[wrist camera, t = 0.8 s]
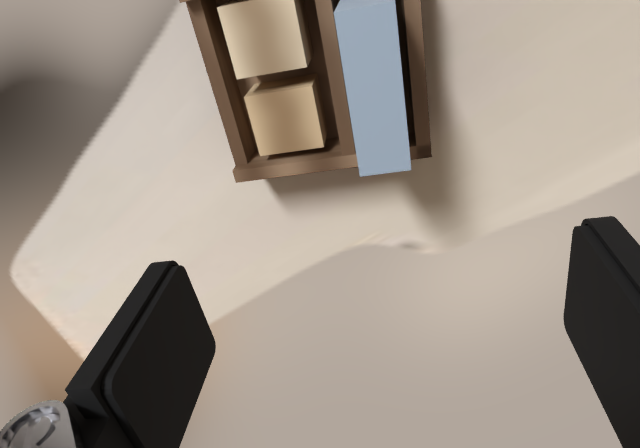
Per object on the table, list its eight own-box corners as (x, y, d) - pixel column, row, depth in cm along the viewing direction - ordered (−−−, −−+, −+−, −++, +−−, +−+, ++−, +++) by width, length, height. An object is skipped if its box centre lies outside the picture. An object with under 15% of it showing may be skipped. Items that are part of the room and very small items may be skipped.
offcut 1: (300, -14, 32) (292, -8, 29) (313, 54, 35) (307, 67, 31) (232, 0, 33) (216, 7, 30) (249, 65, 35) (236, 79, 32)
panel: (388, -19, 32) (395, 0, 22) (401, 109, 36) (411, 170, 27) (345, -10, 32) (333, 12, 23) (363, 115, 37) (359, 176, 27)
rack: (410, -67, 31) (415, -67, 27) (425, 132, 38) (431, 156, 34) (199, -21, 34) (174, -15, 29) (250, 156, 41) (236, 182, 36)
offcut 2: (317, 73, 35) (311, 85, 32) (327, 130, 38) (324, 147, 35) (254, 83, 36) (243, 97, 33) (268, 139, 38) (259, 156, 36)
